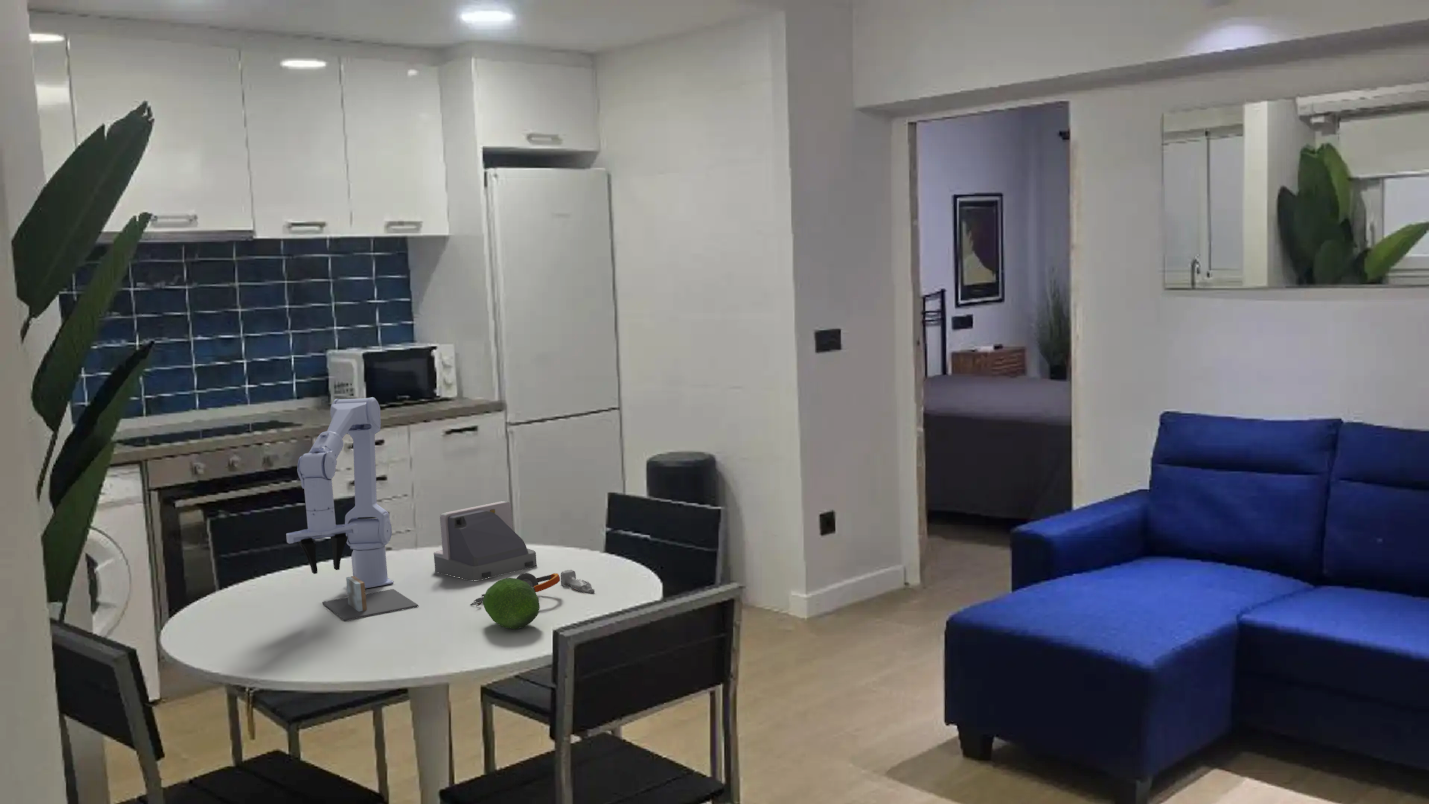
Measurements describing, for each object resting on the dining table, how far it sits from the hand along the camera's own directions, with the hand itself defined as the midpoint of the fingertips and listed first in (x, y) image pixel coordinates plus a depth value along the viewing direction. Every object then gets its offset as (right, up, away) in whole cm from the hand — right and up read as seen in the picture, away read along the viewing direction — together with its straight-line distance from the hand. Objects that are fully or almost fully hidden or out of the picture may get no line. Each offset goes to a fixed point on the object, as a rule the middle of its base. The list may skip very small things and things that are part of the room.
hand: (325, 571), depth 265 cm
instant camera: (+28, -5, +35) cm, 45 cm away
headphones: (+40, -7, +5) cm, 41 cm away
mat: (+8, -8, +6) cm, 13 cm away
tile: (+6, -8, +4) cm, 11 cm away
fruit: (+42, -9, -16) cm, 46 cm away
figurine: (+53, -6, +11) cm, 55 cm away
